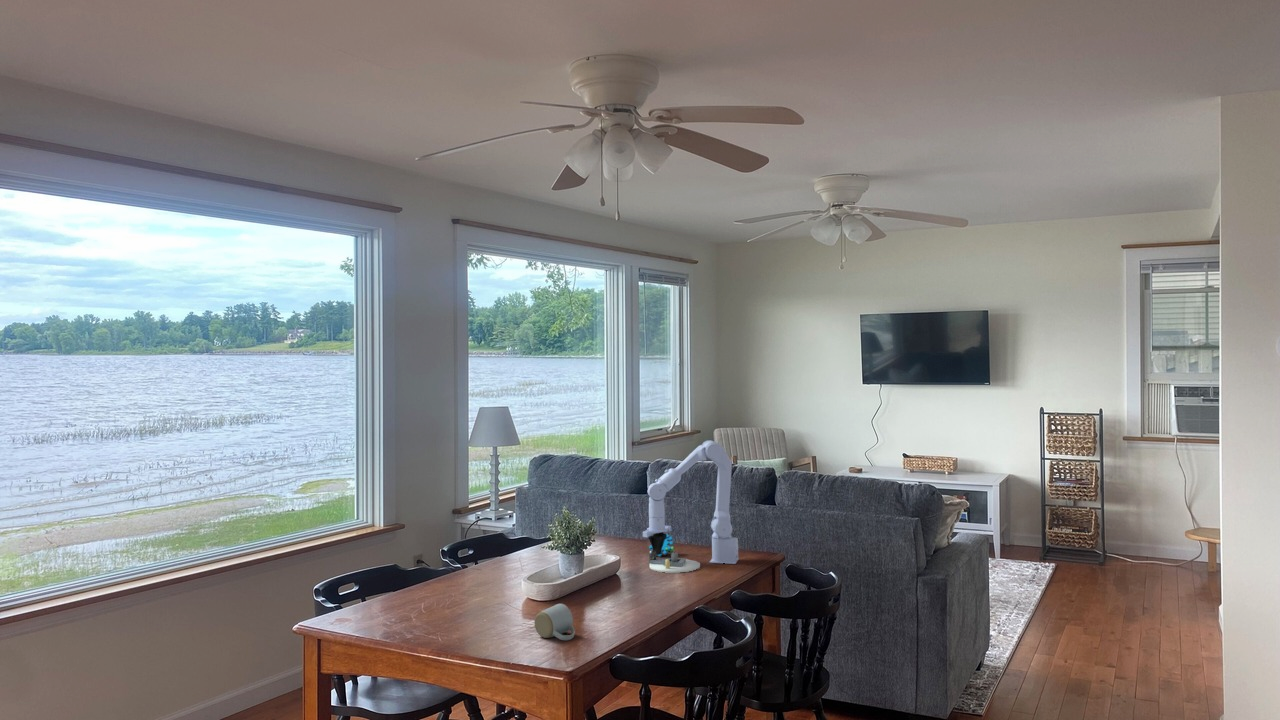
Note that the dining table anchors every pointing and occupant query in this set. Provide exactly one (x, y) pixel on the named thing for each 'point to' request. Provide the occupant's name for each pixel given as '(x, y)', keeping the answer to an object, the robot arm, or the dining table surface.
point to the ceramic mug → (555, 622)
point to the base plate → (687, 567)
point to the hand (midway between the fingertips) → (657, 554)
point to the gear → (666, 546)
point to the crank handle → (662, 561)
